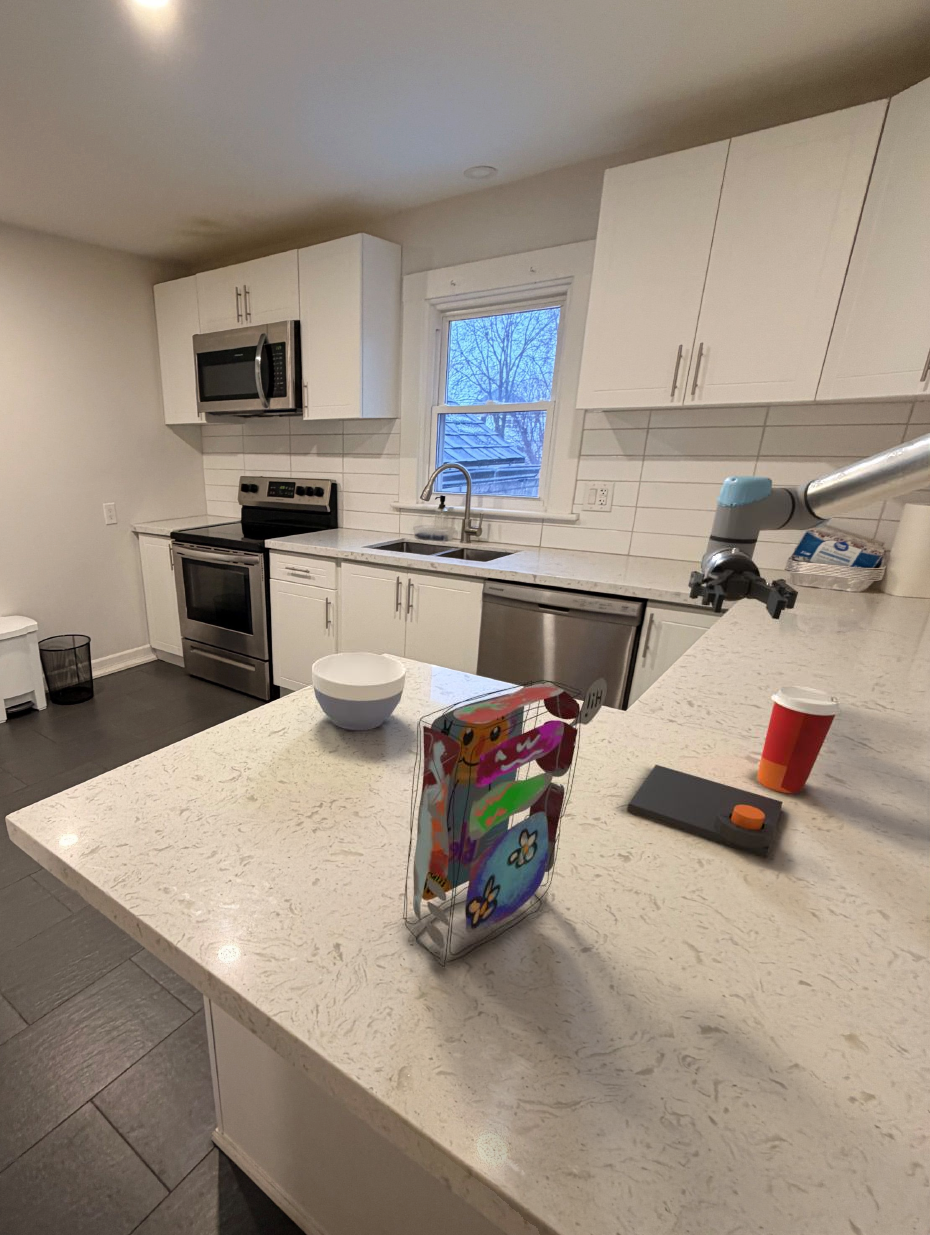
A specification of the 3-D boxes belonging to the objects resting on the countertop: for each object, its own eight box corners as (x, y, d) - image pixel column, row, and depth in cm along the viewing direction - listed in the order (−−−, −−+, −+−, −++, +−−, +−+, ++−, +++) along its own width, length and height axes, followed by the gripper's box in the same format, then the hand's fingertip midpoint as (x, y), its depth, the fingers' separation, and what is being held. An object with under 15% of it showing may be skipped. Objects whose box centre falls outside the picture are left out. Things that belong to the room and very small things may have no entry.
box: (552, 846, 79) (585, 658, 69) (597, 872, 74) (639, 675, 64) (400, 932, 65) (415, 714, 55) (444, 971, 60) (469, 740, 51)
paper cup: (811, 780, 94) (841, 692, 89) (811, 803, 88) (844, 710, 83) (749, 765, 98) (774, 680, 93) (745, 786, 92) (773, 697, 87)
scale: (780, 809, 87) (787, 790, 86) (765, 863, 76) (772, 842, 75) (653, 771, 96) (658, 753, 95) (624, 814, 85) (628, 795, 84)
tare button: (762, 822, 79) (766, 810, 78) (759, 834, 77) (763, 822, 76) (733, 813, 81) (736, 801, 80) (728, 824, 79) (732, 812, 78)
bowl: (293, 716, 112) (292, 665, 109) (358, 694, 122) (359, 646, 118) (355, 749, 101) (357, 693, 98) (422, 721, 111) (425, 669, 108)
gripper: (673, 548, 113) (678, 573, 94) (805, 559, 106) (839, 588, 86) (664, 590, 116) (667, 623, 97) (791, 603, 109) (822, 641, 89)
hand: (748, 606), depth 92 cm, fingers open, 7 cm apart
